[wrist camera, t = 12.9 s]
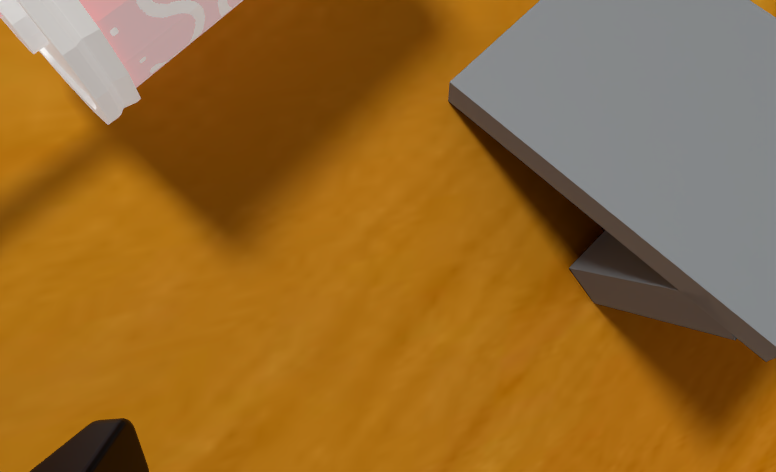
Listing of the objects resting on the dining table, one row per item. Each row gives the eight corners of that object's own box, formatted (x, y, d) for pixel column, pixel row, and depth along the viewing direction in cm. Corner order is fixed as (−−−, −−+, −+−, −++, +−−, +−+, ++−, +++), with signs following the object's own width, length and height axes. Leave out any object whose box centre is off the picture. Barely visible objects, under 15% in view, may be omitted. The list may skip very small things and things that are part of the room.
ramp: (437, 85, 21) (592, 45, 14) (611, -72, 23) (819, -171, 16) (603, 315, 24) (794, 369, 17) (745, 160, 26) (968, 157, 19)
